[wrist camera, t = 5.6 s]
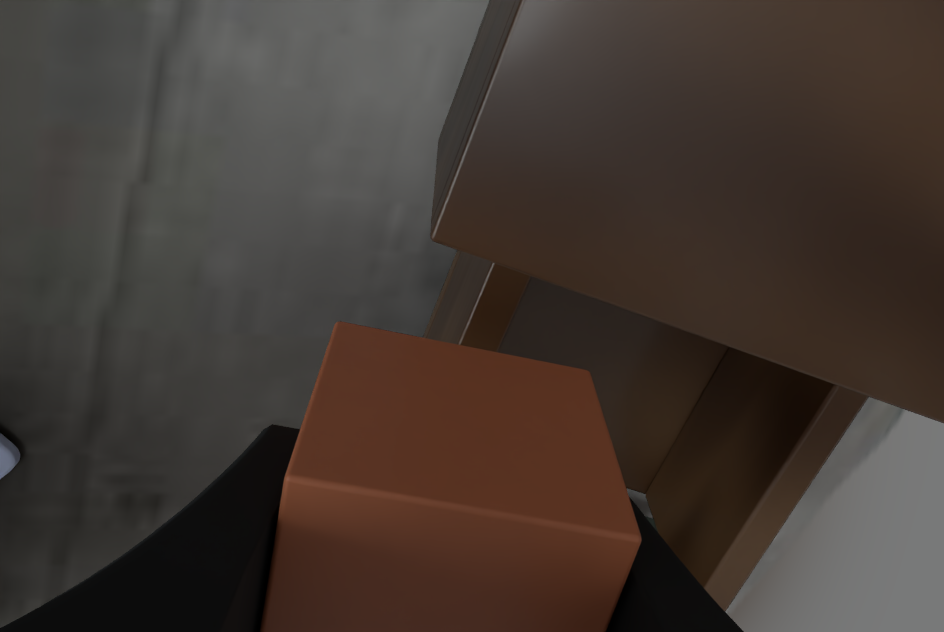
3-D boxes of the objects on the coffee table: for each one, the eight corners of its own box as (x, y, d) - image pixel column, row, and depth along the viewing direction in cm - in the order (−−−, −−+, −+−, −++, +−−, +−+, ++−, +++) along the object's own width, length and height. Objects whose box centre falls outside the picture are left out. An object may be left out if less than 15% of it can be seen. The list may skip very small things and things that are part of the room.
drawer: (586, 647, 26) (619, 825, 21) (304, 568, 24) (262, 738, 19) (892, 129, 19) (1057, 197, 14) (529, -23, 18) (561, -13, 12)
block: (526, 565, 14) (550, 778, 11) (299, 527, 14) (241, 735, 10) (590, 369, 13) (645, 539, 9) (335, 318, 12) (284, 476, 9)
